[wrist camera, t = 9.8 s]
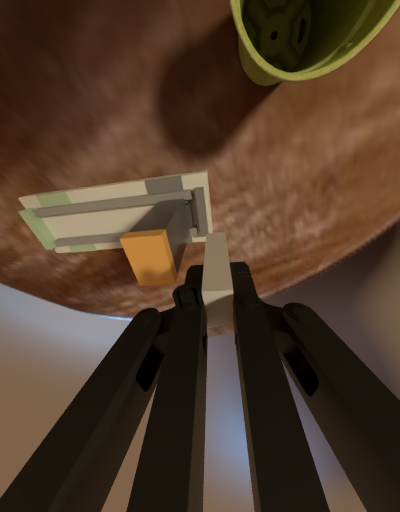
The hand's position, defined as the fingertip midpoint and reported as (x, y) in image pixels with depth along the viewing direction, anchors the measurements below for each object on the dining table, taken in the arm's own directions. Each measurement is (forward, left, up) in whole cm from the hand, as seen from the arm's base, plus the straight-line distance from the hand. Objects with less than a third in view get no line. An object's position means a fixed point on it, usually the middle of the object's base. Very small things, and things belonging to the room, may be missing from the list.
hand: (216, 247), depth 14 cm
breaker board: (+13, -4, -11) cm, 18 cm away
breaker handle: (+5, -2, -9) cm, 11 cm away
